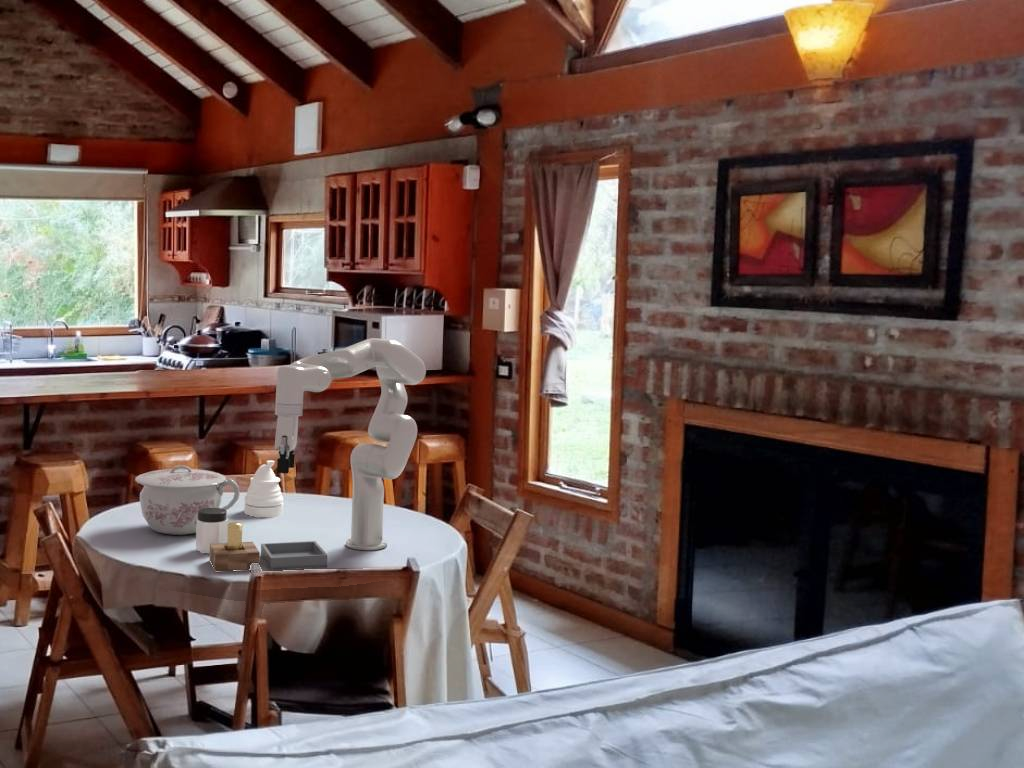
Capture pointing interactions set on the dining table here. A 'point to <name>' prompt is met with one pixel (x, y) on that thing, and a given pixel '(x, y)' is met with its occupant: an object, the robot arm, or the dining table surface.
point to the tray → (293, 555)
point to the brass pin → (234, 536)
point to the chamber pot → (181, 497)
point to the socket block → (233, 557)
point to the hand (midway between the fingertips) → (285, 470)
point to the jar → (211, 528)
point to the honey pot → (264, 494)
